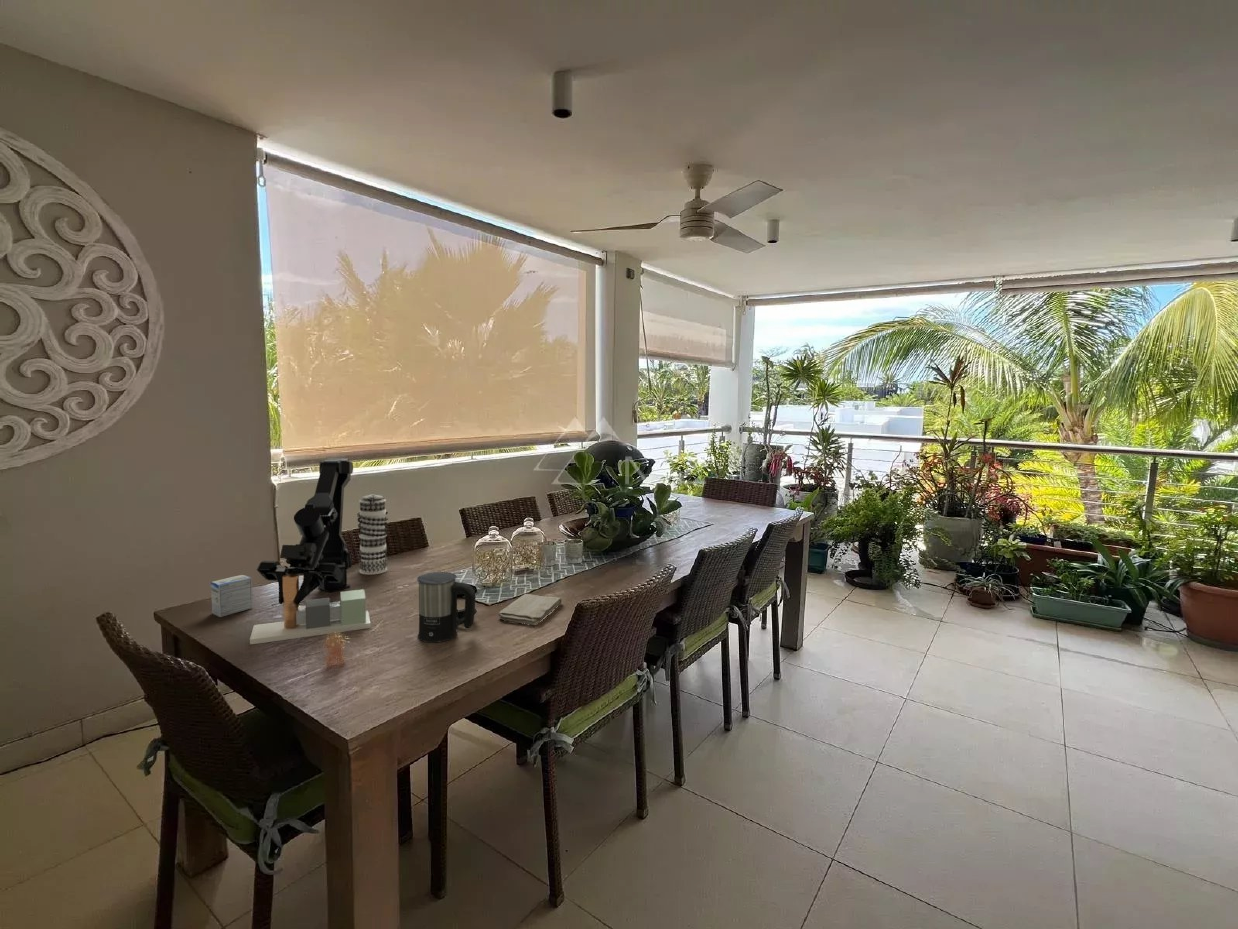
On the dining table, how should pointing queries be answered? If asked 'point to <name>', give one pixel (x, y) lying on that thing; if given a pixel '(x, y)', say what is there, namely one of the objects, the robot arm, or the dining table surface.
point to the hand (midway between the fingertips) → (288, 603)
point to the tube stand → (305, 625)
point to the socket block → (353, 607)
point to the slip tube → (297, 613)
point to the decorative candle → (372, 535)
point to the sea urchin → (335, 648)
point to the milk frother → (443, 606)
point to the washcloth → (529, 609)
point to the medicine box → (231, 595)
